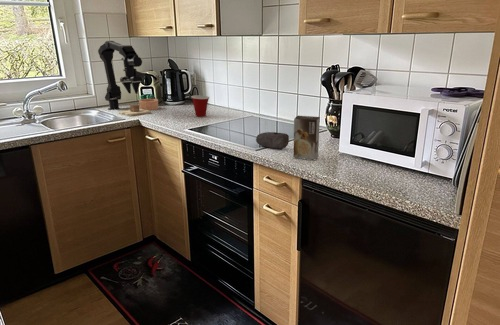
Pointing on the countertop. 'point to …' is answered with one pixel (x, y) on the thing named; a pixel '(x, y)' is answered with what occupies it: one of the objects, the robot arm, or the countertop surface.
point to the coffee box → (306, 137)
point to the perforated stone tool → (273, 140)
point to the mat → (130, 116)
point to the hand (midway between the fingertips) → (133, 93)
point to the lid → (134, 111)
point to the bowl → (148, 104)
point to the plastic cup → (200, 105)
